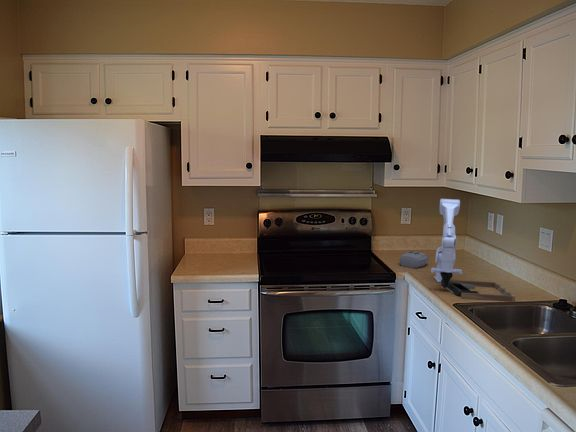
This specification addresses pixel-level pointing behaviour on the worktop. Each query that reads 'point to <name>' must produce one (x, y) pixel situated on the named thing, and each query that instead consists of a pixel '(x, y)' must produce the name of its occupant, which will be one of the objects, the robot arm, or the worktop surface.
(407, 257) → the grey rounded bag
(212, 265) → the worktop surface
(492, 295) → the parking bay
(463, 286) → the door handle
